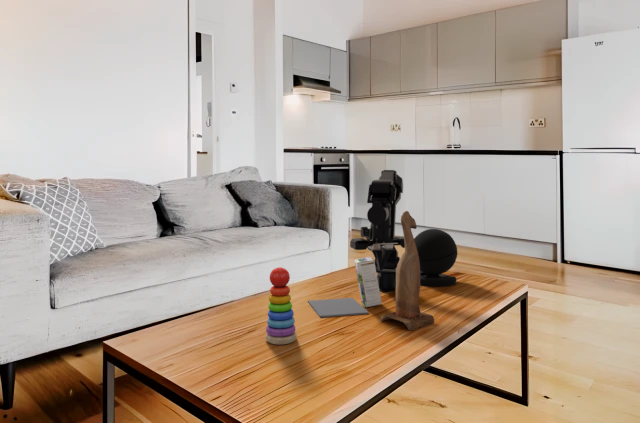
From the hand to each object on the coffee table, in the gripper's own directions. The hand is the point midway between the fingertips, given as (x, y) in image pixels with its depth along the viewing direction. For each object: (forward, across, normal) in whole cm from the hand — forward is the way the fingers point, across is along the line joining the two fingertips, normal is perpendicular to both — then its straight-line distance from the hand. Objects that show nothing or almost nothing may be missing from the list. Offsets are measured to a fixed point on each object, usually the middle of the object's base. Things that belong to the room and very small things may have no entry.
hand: (380, 270), depth 155 cm
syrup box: (+11, +3, 0) cm, 11 cm away
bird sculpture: (+12, -1, +18) cm, 21 cm away
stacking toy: (+12, +36, +23) cm, 44 cm away
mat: (+11, +14, 0) cm, 18 cm away
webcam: (+11, -31, -24) cm, 40 cm away
